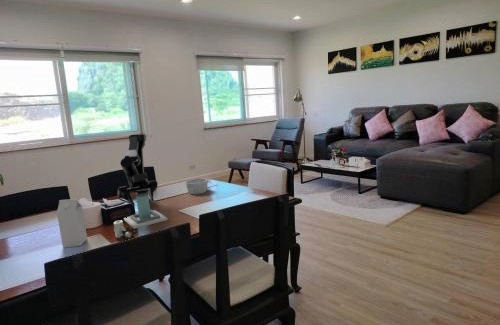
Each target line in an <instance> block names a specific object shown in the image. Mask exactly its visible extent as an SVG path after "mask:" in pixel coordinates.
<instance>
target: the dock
mask: <svg viewBox="0 0 500 325" xmlns="http://www.w3.org/2000/svg"><path fill="white" fill-rule="evenodd" d="M150 213H151V217H149V218H145V219H141V220H140V219H139V214H138V213H136V214H132V215H129V216H126V217H127V218H126V217H123V222H125V223H127V224H128V225H129V226H130V228H131V227H133V228H134V229H138V228H142V227H147V226H149V225H153V224H157V223H162V222H164V221H168V217H166V216H165V215H164V214H162V213H160V212H158V211H157V210H151V209H150Z"/></svg>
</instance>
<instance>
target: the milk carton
mask: <svg viewBox="0 0 500 325" xmlns="http://www.w3.org/2000/svg"><path fill="white" fill-rule="evenodd" d="M56 215H57V221H58V227H59V232H60V239H61V245H62V248H63V249H64V248H73V247H74V248H75V247H81V246H82V245H83V244H84V243H85V242H86V241H87V240H88V235H87V230H86V224H85V217H84V216H85V215H84V210H83V205H82V204H81V203H80V202H79V201H78V198H71V199H60V200H58V206H57V210H56Z"/></svg>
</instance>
